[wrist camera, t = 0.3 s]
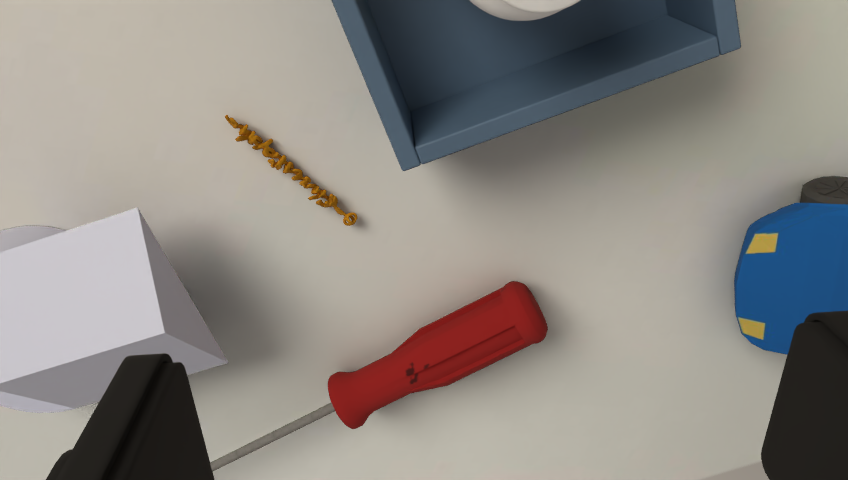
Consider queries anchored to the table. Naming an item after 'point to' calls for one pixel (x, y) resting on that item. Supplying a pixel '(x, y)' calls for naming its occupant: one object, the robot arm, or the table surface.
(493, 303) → the screwdriver
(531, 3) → the supplement bottle
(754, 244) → the toy car
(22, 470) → the table surface
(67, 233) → the wedge on round base
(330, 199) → the keychain
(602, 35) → the storage bin
